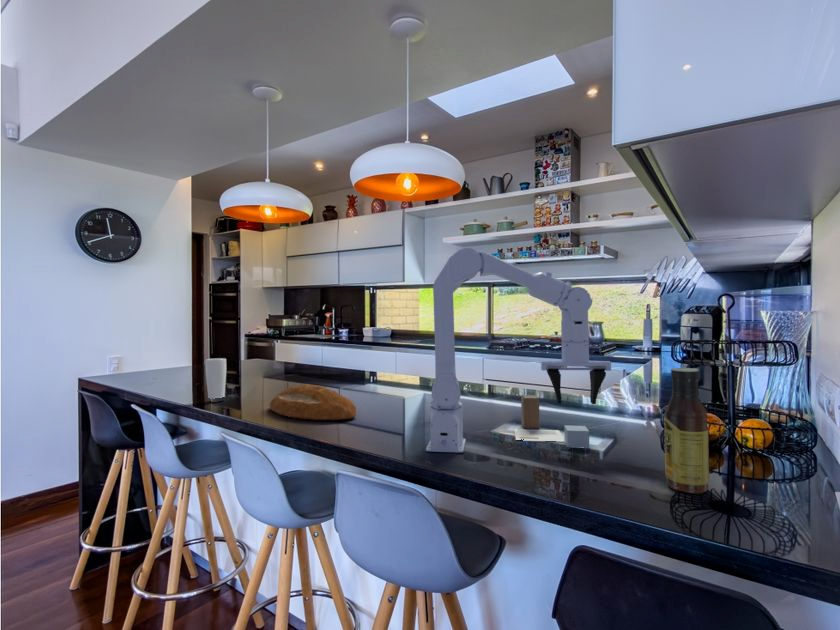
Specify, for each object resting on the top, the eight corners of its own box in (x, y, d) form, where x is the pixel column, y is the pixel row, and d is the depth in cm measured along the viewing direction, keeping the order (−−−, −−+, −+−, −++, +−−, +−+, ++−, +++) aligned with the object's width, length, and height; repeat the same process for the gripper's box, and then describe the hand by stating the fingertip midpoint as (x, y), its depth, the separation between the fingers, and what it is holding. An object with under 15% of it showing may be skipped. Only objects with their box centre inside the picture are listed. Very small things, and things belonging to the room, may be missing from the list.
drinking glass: (207, 400, 161) (206, 358, 161) (228, 399, 163) (227, 357, 163) (204, 404, 154) (203, 360, 154) (225, 402, 156) (225, 359, 156)
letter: (565, 442, 102) (565, 441, 102) (516, 440, 104) (516, 440, 104) (559, 430, 112) (559, 430, 112) (514, 429, 114) (514, 429, 114)
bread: (326, 428, 119) (326, 395, 119) (252, 412, 141) (252, 384, 141) (373, 416, 133) (372, 386, 133) (298, 403, 155) (298, 377, 155)
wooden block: (521, 425, 118) (520, 394, 118) (536, 425, 118) (536, 394, 118) (524, 429, 114) (523, 397, 114) (539, 429, 114) (539, 397, 114)
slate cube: (589, 449, 97) (589, 431, 97) (567, 448, 98) (567, 430, 98) (585, 443, 101) (585, 425, 101) (564, 442, 102) (564, 425, 102)
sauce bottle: (669, 478, 79) (667, 365, 79) (711, 486, 75) (710, 367, 75) (661, 490, 74) (659, 369, 74) (706, 499, 70) (704, 372, 70)
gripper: (605, 340, 102) (606, 400, 102) (539, 340, 104) (540, 399, 105) (613, 342, 95) (614, 406, 95) (542, 342, 98) (543, 405, 98)
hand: (575, 403), depth 99 cm, fingers open, 7 cm apart
